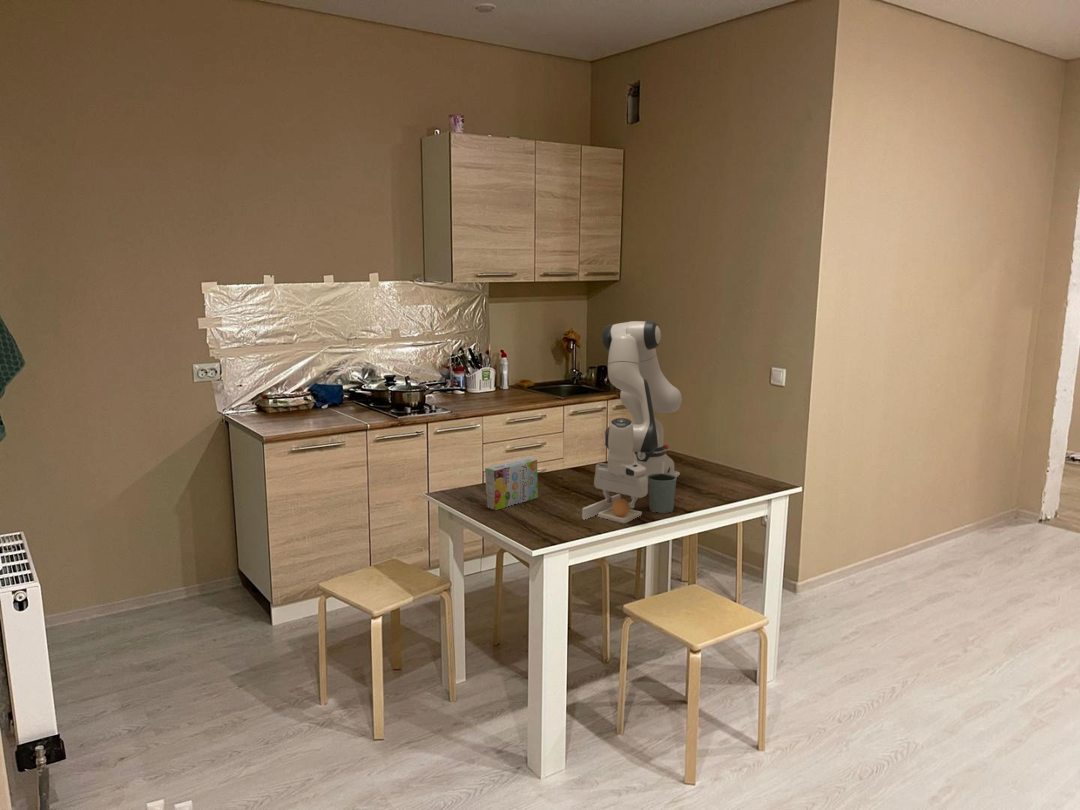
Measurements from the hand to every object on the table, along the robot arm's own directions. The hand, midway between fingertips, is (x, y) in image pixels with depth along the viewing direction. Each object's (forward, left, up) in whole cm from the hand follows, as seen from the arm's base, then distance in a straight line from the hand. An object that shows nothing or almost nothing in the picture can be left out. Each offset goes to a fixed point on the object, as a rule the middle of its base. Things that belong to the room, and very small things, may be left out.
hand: (619, 505), depth 279 cm
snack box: (+12, -39, -4) cm, 41 cm away
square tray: (0, 0, -4) cm, 4 cm away
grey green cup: (-16, +7, -4) cm, 18 cm away
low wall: (0, -7, -4) cm, 9 cm away
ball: (0, 0, -1) cm, 1 cm away
